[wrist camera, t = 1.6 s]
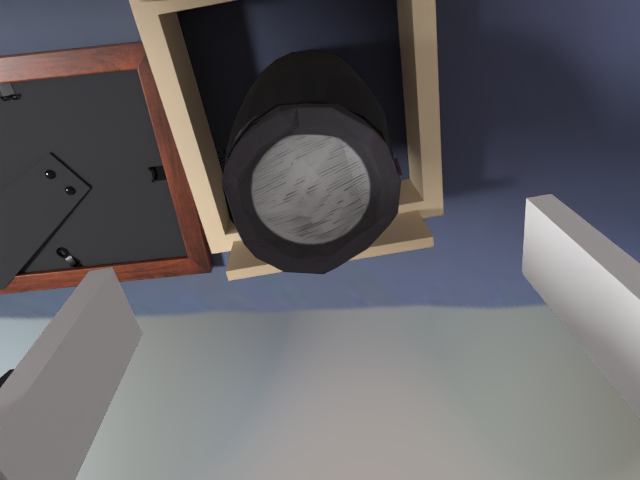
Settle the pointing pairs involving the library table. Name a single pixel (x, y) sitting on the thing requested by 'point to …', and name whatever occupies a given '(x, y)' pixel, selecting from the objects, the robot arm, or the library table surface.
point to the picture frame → (91, 172)
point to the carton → (201, 157)
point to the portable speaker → (310, 165)
